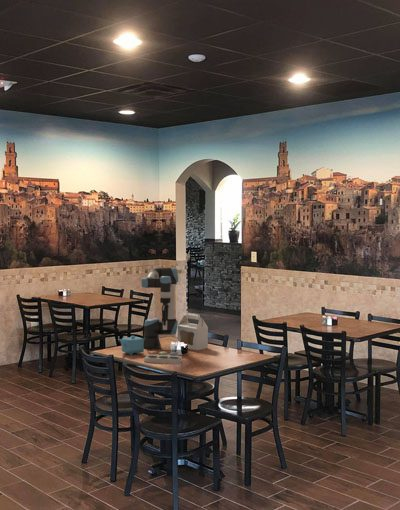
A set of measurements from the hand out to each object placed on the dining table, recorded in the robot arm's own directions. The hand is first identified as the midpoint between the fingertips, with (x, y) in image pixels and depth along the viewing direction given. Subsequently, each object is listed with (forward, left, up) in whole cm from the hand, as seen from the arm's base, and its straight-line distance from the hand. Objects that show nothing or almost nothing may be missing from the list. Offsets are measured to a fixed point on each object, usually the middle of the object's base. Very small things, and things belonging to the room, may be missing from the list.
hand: (164, 329), depth 469 cm
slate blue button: (+5, +8, -17) cm, 20 cm away
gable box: (-53, +11, -23) cm, 58 cm away
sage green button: (+5, 0, -17) cm, 18 cm away
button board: (+5, 0, -22) cm, 23 cm away
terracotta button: (+5, -8, -17) cm, 20 cm away
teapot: (-15, -30, -23) cm, 41 cm away
